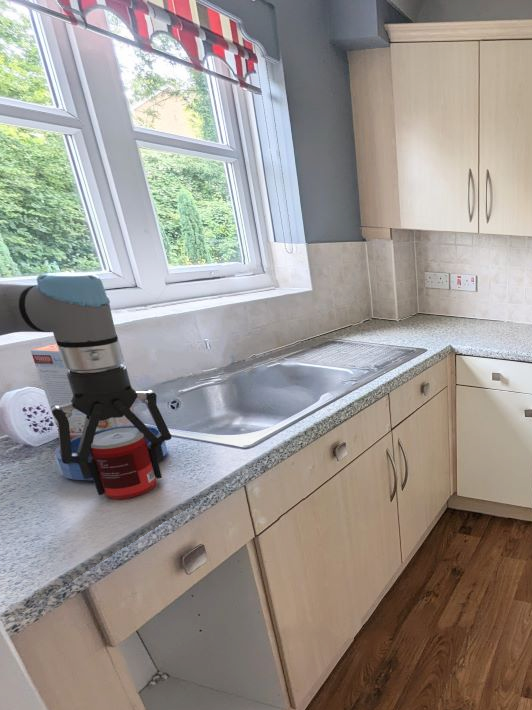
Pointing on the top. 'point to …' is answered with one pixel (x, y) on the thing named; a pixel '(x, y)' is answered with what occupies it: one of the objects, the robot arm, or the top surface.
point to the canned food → (123, 462)
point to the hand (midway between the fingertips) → (130, 483)
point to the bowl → (74, 469)
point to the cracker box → (65, 389)
